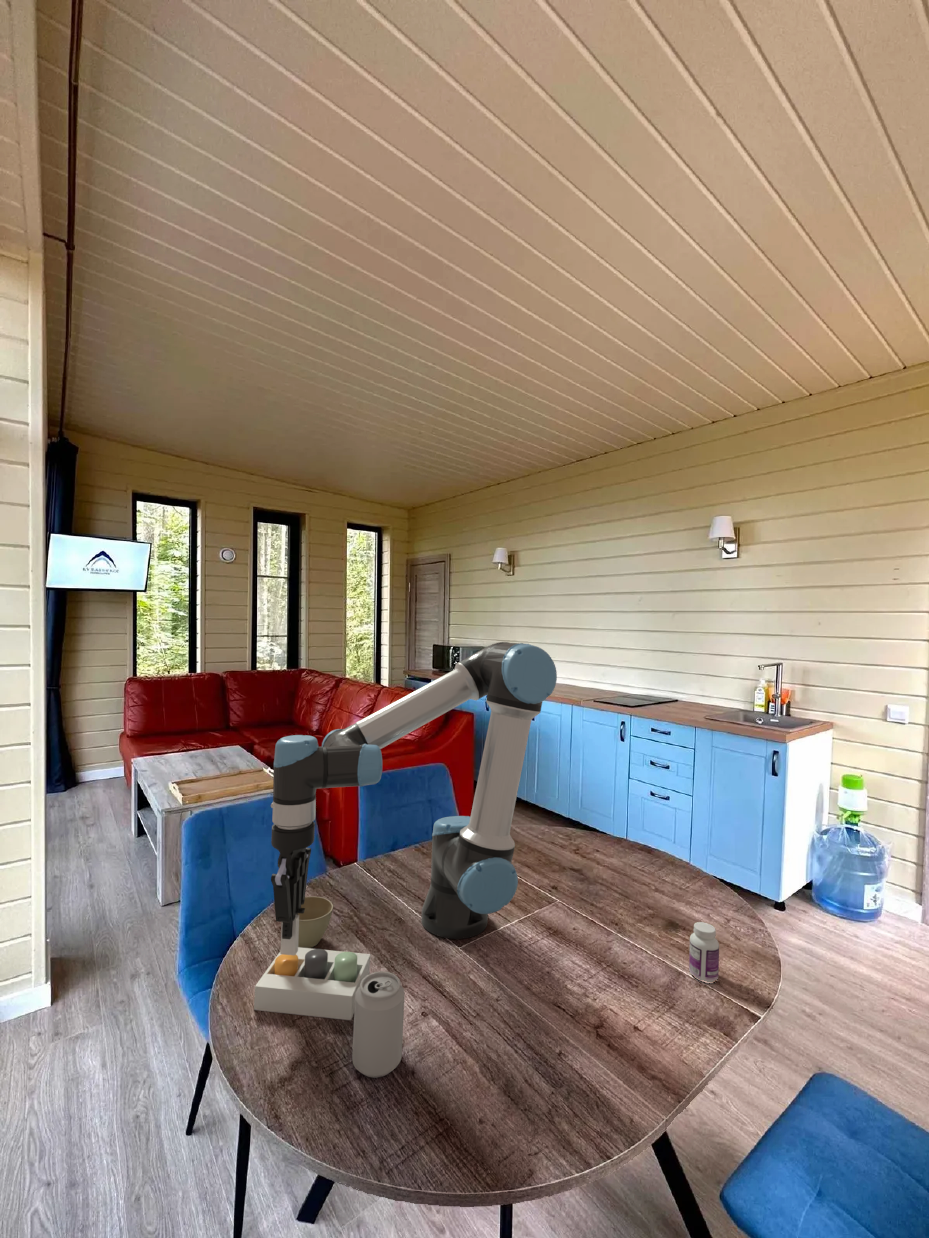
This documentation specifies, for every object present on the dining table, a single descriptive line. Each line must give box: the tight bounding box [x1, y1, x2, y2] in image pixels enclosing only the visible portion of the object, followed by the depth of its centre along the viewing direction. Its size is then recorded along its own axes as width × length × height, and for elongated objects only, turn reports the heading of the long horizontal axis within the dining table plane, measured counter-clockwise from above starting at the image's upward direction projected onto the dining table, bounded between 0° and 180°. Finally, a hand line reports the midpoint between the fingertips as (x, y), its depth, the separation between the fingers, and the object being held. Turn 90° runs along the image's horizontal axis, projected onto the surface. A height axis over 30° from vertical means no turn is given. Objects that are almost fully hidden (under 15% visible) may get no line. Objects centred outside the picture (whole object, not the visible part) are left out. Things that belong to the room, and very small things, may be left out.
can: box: [351, 971, 406, 1079], centre depth 83 cm, size 8×8×12 cm
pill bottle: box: [688, 921, 720, 982], centre depth 108 cm, size 5×5×10 cm
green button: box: [334, 951, 357, 983], centre depth 98 cm, size 4×4×4 cm
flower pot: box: [298, 895, 334, 949], centre depth 114 cm, size 10×10×7 cm
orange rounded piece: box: [274, 954, 298, 976], centre depth 99 cm, size 4×4×4 cm
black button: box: [304, 948, 328, 980], centre depth 99 cm, size 4×4×4 cm
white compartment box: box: [253, 947, 371, 1021], centre depth 99 cm, size 17×12×4 cm
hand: (289, 952), depth 99 cm, fingers closed
